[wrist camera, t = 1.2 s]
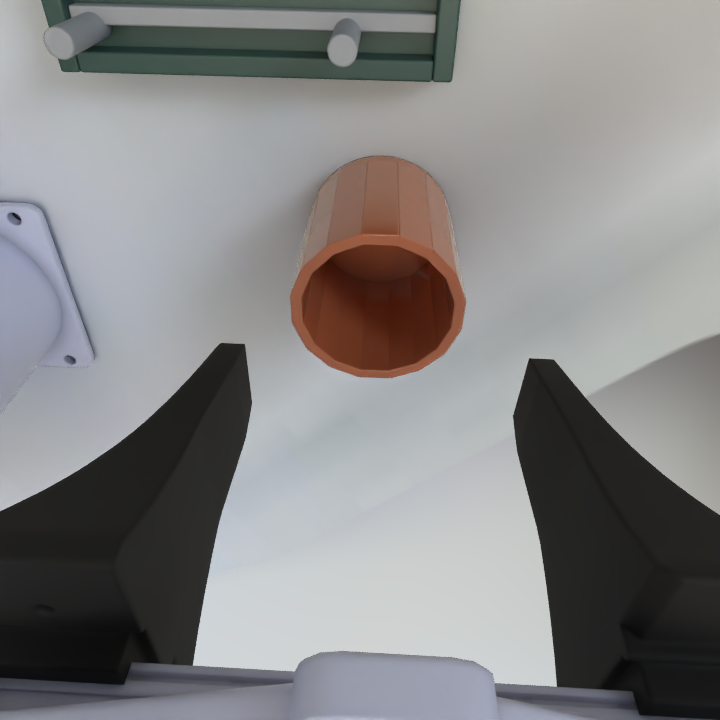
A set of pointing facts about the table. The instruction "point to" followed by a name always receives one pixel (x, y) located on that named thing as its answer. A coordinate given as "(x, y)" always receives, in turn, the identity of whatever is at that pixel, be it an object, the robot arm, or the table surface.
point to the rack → (257, 38)
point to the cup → (378, 271)
